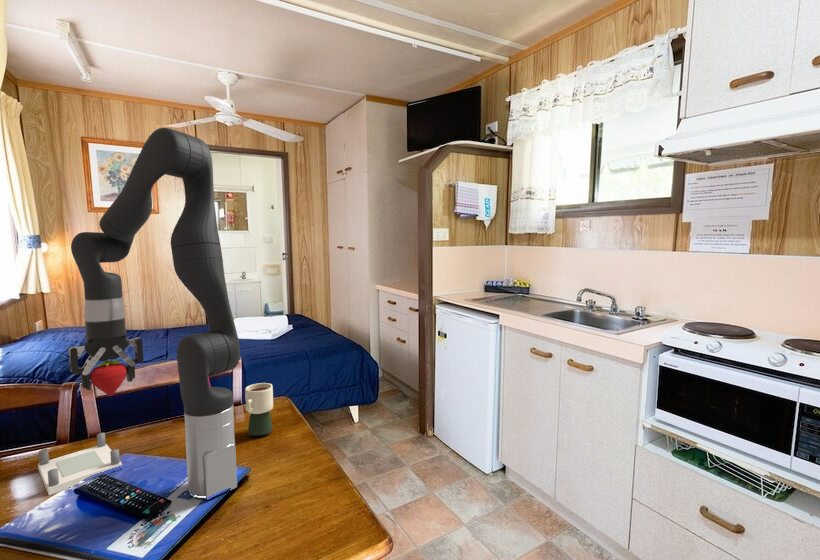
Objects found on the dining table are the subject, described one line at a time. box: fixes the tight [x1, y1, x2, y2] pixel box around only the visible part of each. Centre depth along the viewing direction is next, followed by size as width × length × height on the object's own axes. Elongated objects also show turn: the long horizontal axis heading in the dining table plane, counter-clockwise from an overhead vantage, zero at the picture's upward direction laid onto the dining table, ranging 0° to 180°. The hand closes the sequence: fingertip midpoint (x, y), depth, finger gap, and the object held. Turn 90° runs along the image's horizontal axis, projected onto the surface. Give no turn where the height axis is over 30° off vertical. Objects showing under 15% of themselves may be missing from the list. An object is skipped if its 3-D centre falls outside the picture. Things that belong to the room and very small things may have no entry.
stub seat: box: [37, 432, 123, 496], centre depth 90 cm, size 15×13×4 cm
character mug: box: [244, 382, 274, 437], centre depth 108 cm, size 11×7×13 cm, turn 169°
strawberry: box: [89, 359, 127, 396], centre depth 94 cm, size 6×8×10 cm
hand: (109, 385), depth 94 cm, fingers closed on strawberry, 7 cm apart
